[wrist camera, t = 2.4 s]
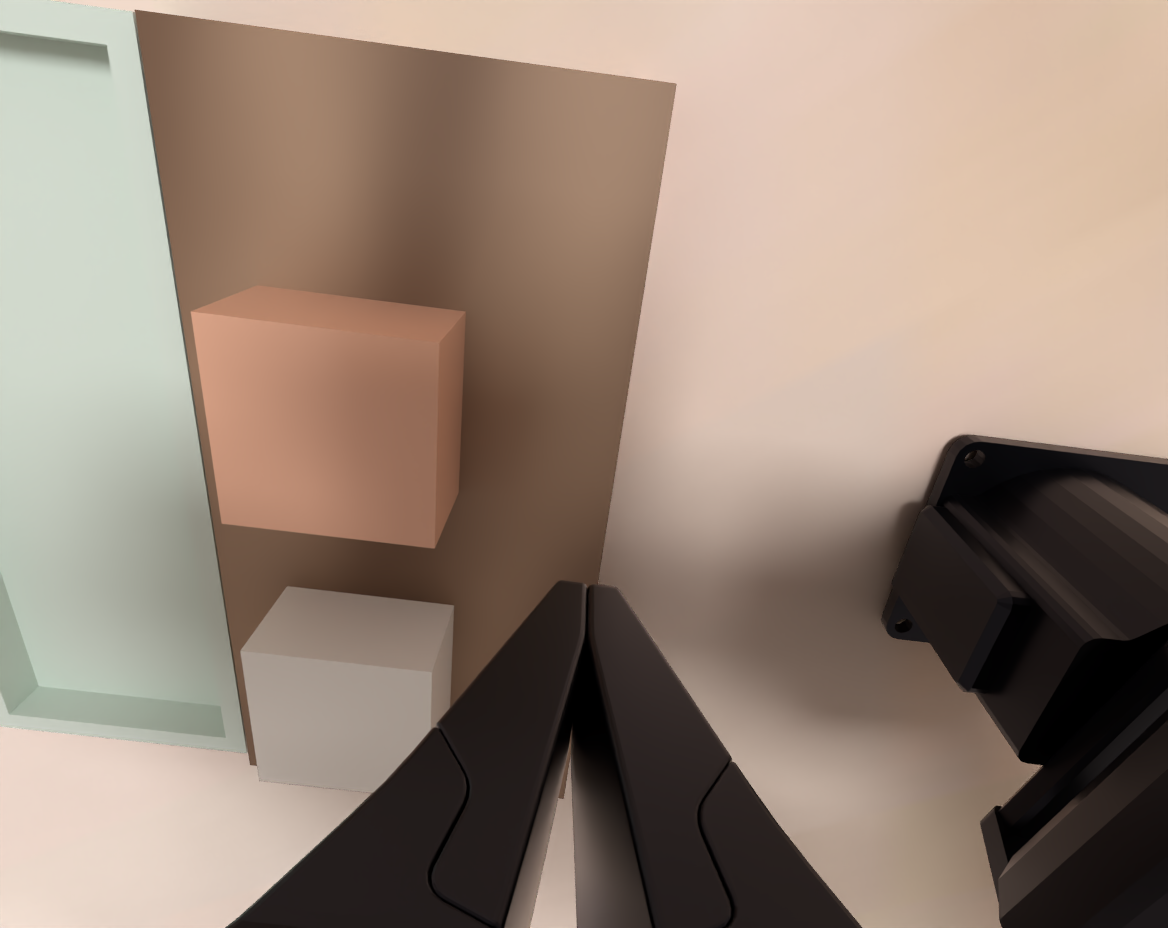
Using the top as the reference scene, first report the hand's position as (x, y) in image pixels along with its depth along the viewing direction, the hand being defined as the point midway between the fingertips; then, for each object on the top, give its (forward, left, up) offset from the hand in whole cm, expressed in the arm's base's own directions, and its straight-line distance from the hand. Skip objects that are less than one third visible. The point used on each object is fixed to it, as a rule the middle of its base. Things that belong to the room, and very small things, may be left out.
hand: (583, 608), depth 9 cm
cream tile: (+5, +8, -7) cm, 12 cm away
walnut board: (+4, +3, -9) cm, 10 cm away
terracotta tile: (+5, 0, -7) cm, 9 cm away
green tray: (+14, +3, -9) cm, 16 cm away
